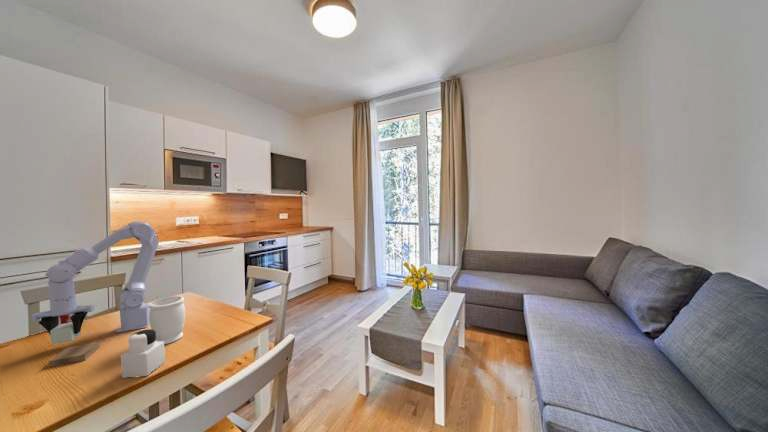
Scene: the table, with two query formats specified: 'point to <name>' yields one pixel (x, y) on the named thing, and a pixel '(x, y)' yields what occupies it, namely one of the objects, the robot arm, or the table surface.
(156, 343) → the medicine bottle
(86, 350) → the walnut plinth
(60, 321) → the soda can
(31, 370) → the table surface
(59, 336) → the painted cube
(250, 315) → the table surface
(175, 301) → the jar
